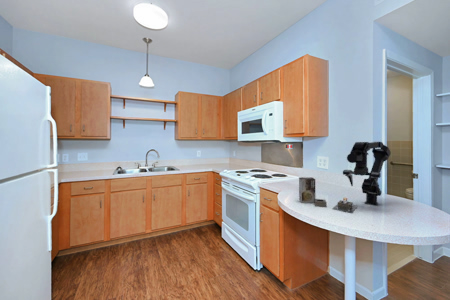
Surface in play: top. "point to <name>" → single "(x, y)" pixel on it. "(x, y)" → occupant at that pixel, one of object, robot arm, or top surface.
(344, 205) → the link
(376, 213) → the top surface
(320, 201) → the link
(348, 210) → the keeper
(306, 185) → the coffee box
